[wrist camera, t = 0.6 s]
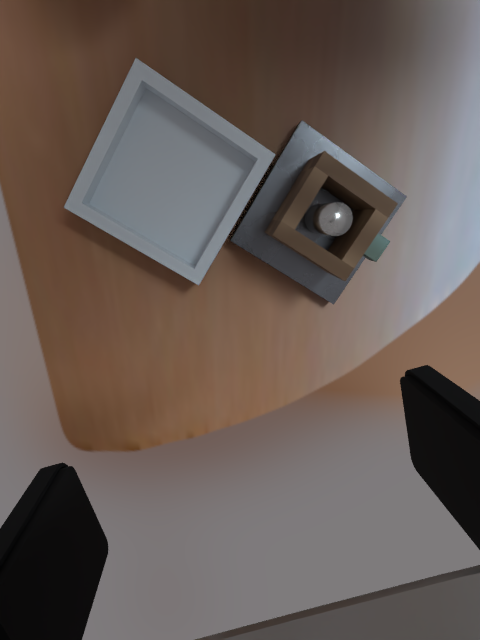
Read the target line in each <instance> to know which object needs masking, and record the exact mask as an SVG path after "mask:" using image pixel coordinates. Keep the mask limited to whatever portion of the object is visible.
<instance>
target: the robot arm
mask: <svg viewBox="0 0 480 640" xmlns="http://www.w3.org/2000/svg"><path fill="white" fill-rule="evenodd" d="M400 384H401V391H402V398H403V405H404V412H405V419H406V426H407V433H408V439H409V447H410V454H411V460H412V462H413V465H414V467H415V469H416V471H417V472H418V473H419V474H420V476H421V477H422V478H423V479H424V481H425V482H426V483H427V484H428V486H429V487H430V488H431V490H432V491H433V492H434V493H435V495H436V496H437V497H438V498H439V500H440V501H441V502H442V503H443V505H444V506H445V507H446V508H447V510H448V511H449V512H450V513H451V515H452V516H453V517H454V518H455V520H456V521H457V522H458V523H459V525H460V526H461V527H462V528H463V529H464V531H465V532H466V533H467V535H468V536H469V537H470V538H471V540H472V541H473V542H474V543H475V545H476V546H477V547H478V548H479V550H480V401H479V400H478V399H476V398H475V397H473V396H472V395H470V394H469V393H468V392H466V391H465V390H463V389H462V388H460V387H459V386H457V385H456V384H455V383H453V382H452V381H450V380H449V379H447V378H446V377H445V376H443V375H442V374H440V373H439V372H437V371H436V370H435V369H433V368H432V367H430V366H428V365H425V366H421V367H418V368H414V369H411V370H407V371H406V372H405V377H402V378H401V379H400ZM107 555H108V542H107V539H106V536H105V534H104V532H103V530H102V528H101V525H100V523H99V521H98V519H97V517H96V514H95V512H94V510H93V508H92V506H91V504H90V501H89V499H88V497H87V495H86V493H85V491H84V488H83V486H82V484H81V482H80V480H79V478H78V475H77V473H76V471H75V469H74V468H73V467H72V466H69V467H68V465H66V464H65V463H59V464H56V465H52V466H48V467H45V468H42V469H40V471H39V472H38V473H37V475H36V476H35V478H34V479H33V481H32V482H31V484H30V485H29V487H28V488H27V490H26V491H25V492H24V494H23V495H22V497H21V499H20V500H19V502H18V503H17V504H16V506H15V507H14V509H13V510H12V512H11V513H10V515H9V517H8V518H7V519H6V521H5V522H4V524H3V525H2V527H1V528H0V640H82V637H83V634H84V631H85V627H86V624H87V621H88V617H89V614H90V611H91V608H92V604H93V600H94V597H95V594H96V591H97V588H98V585H99V581H100V578H101V575H102V571H103V568H104V565H105V561H106V558H107ZM195 640H480V565H478V566H474V567H470V568H466V569H462V570H458V571H453V572H449V573H445V574H441V575H437V576H433V577H429V578H425V579H421V580H417V581H414V582H410V583H406V584H402V585H398V586H395V587H391V588H387V589H383V590H379V591H375V592H372V593H368V594H364V595H360V596H357V597H353V598H349V599H346V600H341V601H338V602H334V603H330V604H326V605H322V606H318V607H314V608H311V609H307V610H303V611H300V612H296V613H292V614H288V615H285V616H281V617H277V618H273V619H270V620H266V621H262V622H258V623H255V624H251V625H247V626H243V627H240V628H236V629H233V630H229V631H225V632H222V633H218V634H214V635H210V636H206V637H203V638H200V639H195Z"/></svg>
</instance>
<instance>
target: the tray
mask: <svg viewBox="0 0 480 640" xmlns="http://www.w3.org/2000/svg"><path fill="white" fill-rule="evenodd" d="M275 155H276V154H274V153H273V152H271V151H270V150H268V149H267V148H266V147H264V146H263V145H261V144H260V143H258V142H257V141H255V140H254V139H253V138H251V137H250V136H248V135H247V134H245V133H244V132H242V131H241V130H240V129H238V128H237V127H235V126H234V125H232V124H231V123H229V122H228V121H227V120H225V119H224V118H222V117H221V116H219V115H218V114H216V113H215V112H214V111H212V110H211V109H209V108H208V107H206V106H205V105H203V104H202V103H201V102H199V101H198V100H196V99H195V98H193V97H192V96H190V95H189V94H188V93H186V92H185V91H183V90H182V89H180V88H179V87H177V86H176V85H175V84H173V83H172V82H170V81H169V80H167V79H166V78H164V77H163V76H162V75H160V74H159V73H157V72H156V71H154V70H153V69H151V68H150V67H149V66H147V65H146V64H144V63H143V62H141V61H140V60H138V59H137V58H135V60H134V63H133V65H132V67H131V69H130V71H129V73H128V75H127V77H126V79H125V81H124V83H123V85H122V87H121V90H120V92H119V94H118V96H117V98H116V100H115V102H114V104H113V106H112V108H111V110H110V112H109V114H108V117H107V119H106V121H105V123H104V125H103V127H102V129H101V131H100V133H99V135H98V137H97V139H96V141H95V144H94V146H93V148H92V150H91V152H90V154H89V156H88V158H87V160H86V162H85V164H84V166H83V168H82V171H81V173H80V175H79V177H78V179H77V181H76V183H75V185H74V187H73V189H72V191H71V193H70V195H69V198H68V200H67V202H66V204H65V206H64V208H65V209H67V210H69V211H71V212H72V213H74V214H76V215H78V216H79V217H81V218H83V219H84V220H86V221H88V222H90V223H91V224H93V225H95V226H97V227H98V228H100V229H102V230H104V231H105V232H107V233H109V234H110V235H112V236H114V237H116V238H117V239H119V240H121V241H123V242H124V243H126V244H128V245H130V246H131V247H133V248H135V249H136V250H138V251H140V252H142V253H143V254H145V255H147V256H149V257H150V258H152V259H154V260H156V261H157V262H159V263H161V264H162V265H164V266H166V267H168V268H169V269H171V270H173V271H175V272H176V273H178V274H180V275H182V276H183V277H185V278H187V279H188V280H190V281H192V282H194V283H195V284H197V285H199V284H200V283H201V281H202V279H203V277H204V276H205V274H206V272H207V271H208V269H209V267H210V266H211V264H212V262H213V260H214V259H215V257H216V255H217V254H218V252H219V250H220V248H221V247H222V245H223V243H224V242H225V240H226V238H227V237H228V235H229V233H230V231H231V230H232V228H233V226H234V225H235V223H236V221H237V220H238V218H239V216H240V214H241V213H242V211H243V209H244V208H245V206H246V204H247V203H248V201H249V199H250V197H251V196H252V194H253V192H254V191H255V189H256V187H257V186H258V184H259V182H260V180H261V179H262V177H263V175H264V174H265V172H266V170H267V169H268V167H269V165H270V163H271V162H272V160H273V158H274V157H275Z"/></svg>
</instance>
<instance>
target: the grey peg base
mask: <svg viewBox="0 0 480 640" xmlns="http://www.w3.org/2000/svg"><path fill="white" fill-rule="evenodd" d="M323 151H325V152H327V153H328V154H330V155H331V156H332V157H334V158H335V159H337V160H338V161H339V162H341V163H342V164H344V165H345V166H346V167H348V168H349V169H350V170H352V171H353V172H355V173H356V174H357V175H359V176H360V177H362V178H363V179H364V180H366V181H367V182H369V183H370V184H371V185H373V186H374V187H376V188H377V189H378V190H380V191H381V192H383V193H384V194H385V195H387V196H388V197H389V198H391V199H392V200H394V201H395V202H396V203H398V204H397V206H396V207H395V209H394V210H393V212H392V213H391V215H390V216H389V218H388V219H387V221H386V222H385V224H384V225H383V227H382V228H381V230H380V231H379V232H378V233H379V234H380V235H381V234H382V232H383V231H384V229H385V228H386V227H387V225H388V224H389V222H390V221H391V219H392V218H393V216H394V215H395V213H396V212H397V210H398V209H399V207H400V206H401V204H402V203H403V201H404V200H405V199H406V197H407V196H405V195H404V194H402V193H401V192H400V191H398V190H397V189H396V188H394V187H393V186H391V185H390V184H389V183H387V182H386V181H385V180H383V179H382V178H380V177H379V176H378V175H376V174H375V173H374V172H372V171H371V170H369V169H368V168H367V167H365V166H364V165H363V164H361V163H360V162H358V161H357V160H356V159H354V158H353V157H352V156H350V155H349V154H347V153H346V152H345V151H343V150H342V149H341V148H339V147H338V146H336V145H335V144H334V143H332V142H331V141H330V140H328V139H327V138H325V137H324V136H323V135H321V134H320V133H319V132H317V131H316V130H314V129H313V128H312V127H310V126H309V125H308V124H306V123H305V122H303V121H301V122H300V123H299V124H298V126H297V127H296V129H295V131H294V132H293V134H292V136H291V137H290V139H289V141H288V142H287V144H286V146H285V148H284V149H283V151H282V153H281V154H280V156H279V158H278V159H277V161H276V163H275V165H274V166H273V168H272V170H271V171H270V173H269V175H268V176H267V178H266V180H265V181H264V183H263V185H262V187H261V188H260V190H259V192H258V193H257V195H256V197H255V198H254V200H253V202H252V203H251V205H250V207H249V209H248V210H247V212H246V214H245V215H244V217H243V219H242V220H241V222H240V224H239V226H238V227H237V229H236V231H235V232H234V234H233V236H232V237H231V239H230V241H232V242H233V243H235V244H237V245H238V246H240V247H241V248H243V249H245V250H246V251H248V252H250V253H251V254H253V255H254V256H256V257H258V258H259V259H261V260H262V261H264V262H266V263H267V264H269V265H271V266H272V267H274V268H275V269H277V270H279V271H280V272H282V273H284V274H285V275H287V276H288V277H290V278H292V279H293V280H295V281H296V282H298V283H300V284H301V285H303V286H305V287H306V288H308V289H309V290H311V291H313V292H314V293H316V294H318V295H319V296H321V297H322V298H324V299H326V300H327V301H329V302H331V303H332V304H334V303H335V302H336V300H337V299H338V297H339V296H340V294H341V293H342V291H343V290H344V288H345V287H346V286H347V284H348V283H349V281H350V280H351V278H352V277H353V275H354V274H355V272H356V271H357V269H358V268H359V266H360V265H361V263H362V262H363V260H364V259H365V257H364V256H362V258H361V259H360V261H359V262H358V264H357V265H356V266H355V268H354V269H353V271H352V272H351V274H350V275H349V277H348V278H347V280H346V281H343V280H341V279H339V278H337V277H335V276H333V275H331V274H329V273H327V272H326V271H324V270H323V269H321V268H320V267H318V266H316V265H315V264H313V263H312V262H310V261H309V260H307V259H305V258H304V257H302V256H301V255H299V254H298V253H296V252H294V251H293V250H291V249H290V248H288V247H287V246H285V245H283V244H282V243H280V242H279V241H277V240H276V239H274V238H272V237H271V236H269V235H268V234H266V233H265V231H266V229H267V227H268V226H269V224H270V222H271V221H272V219H273V217H274V216H275V214H276V212H277V211H278V209H279V208H280V206H281V204H282V203H283V201H284V199H285V198H286V196H287V194H288V193H289V191H290V189H291V188H292V186H293V185H294V183H295V181H296V180H297V178H298V176H299V175H300V173H301V171H302V170H303V168H304V166H305V165H306V163H307V161H308V160H309V159H311V158H312V157H314V156H316V155H318V154H319V153H321V152H323ZM353 211H354V209H352V208H351V207H349V206H348V205H346V204H345V203H343V202H342V201H341V200H339V199H338V198H336V197H335V196H333V195H332V194H330V193H329V192H328V191H326V190H325V189H323V188H322V187H321V188H320V190H319V192H318V193H317V195H316V196H315V198H314V200H313V201H312V203H311V204H310V206H309V208H308V209H307V211H306V212H305V214H304V216H303V217H302V219H301V220H300V222H299V224H298V225H297V227H296V228H295V230H296V231H298V232H299V233H301V234H302V235H304V236H305V237H307V238H308V239H310V240H312V241H313V242H315V243H316V244H318V245H319V246H321V247H322V248H324V249H325V250H327V251H328V249H329V248H330V246H331V244H332V243H333V241H334V240H335V238H336V237H337V236H340V235H342V234H344V233H346V232H347V231H348V230H349V228H350V227H351V224H352V220H353V216H352V212H353Z"/></svg>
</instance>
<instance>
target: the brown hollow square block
mask: <svg viewBox="0 0 480 640" xmlns="http://www.w3.org/2000/svg"><path fill="white" fill-rule="evenodd" d="M321 187H322V188H323V189H325V190H326V191H328V192H329V193H330V194H332V195H333V196H335V197H336V198H338V199H339V200H341V201H342V202H343V203H345V204H346V205H348V206H349V207H351V208H352V209H354V211H353V212H352V216H353V220H352V224H351V227H350V228H349V230H348V231H347V232H346V233H344V234H342V235H340V236H337V237H336V238H335V240H334V241H333V243H332V244H331V246H330V248H329V249H328V251H327V250H325V249H324V248H322V247H321V246H319V245H318V244H316V243H315V242H313V241H312V240H310V239H308V238H307V237H305V236H304V235H302V234H301V233H299V232H298V231H296V230H295V228H296V227H297V225H298V224H299V222H300V220H301V219H302V217H303V216H304V214H305V212H306V211H307V209H308V208H309V206H310V204H311V203H312V201H313V200H314V198H315V196H316V195H317V193H318V192H319V190H320V188H321ZM397 204H398V203H396V202H395V201H394V200H392V199H391V198H389V197H388V196H387V195H385V194H384V193H383V192H381V191H380V190H378V189H377V188H376V187H374V186H373V185H371V184H370V183H369V182H367V181H366V180H364V179H363V178H362V177H360V176H359V175H357V174H356V173H355V172H353V171H352V170H350V169H349V168H348V167H346V166H345V165H344V164H342V163H341V162H339V161H338V160H337V159H335V158H334V157H332V156H331V155H330V154H328V153H327V152H325V151H323V152H321V153H319V154H318V155H316V156H314V157H312V158H311V159H309V160H308V161H307V163H306V165H305V166H304V168H303V170H302V171H301V173H300V175H299V176H298V178H297V180H296V181H295V183H294V185H293V186H292V188H291V189H290V191H289V193H288V194H287V196H286V198H285V199H284V201H283V203H282V204H281V206H280V208H279V209H278V211H277V212H276V214H275V216H274V217H273V219H272V221H271V222H270V224H269V226H268V227H267V229H266V231H265V233H266V234H268V235H269V236H271V237H272V238H274V239H276V240H277V241H279V242H280V243H282V244H283V245H285V246H287V247H288V248H290V249H291V250H293V251H294V252H296V253H298V254H299V255H301V256H302V257H304V258H305V259H307V260H309V261H310V262H312V263H313V264H315V265H316V266H318V267H320V268H321V269H323V270H324V271H326V272H327V273H329V274H331V275H333V276H335V277H337V278H339V279H341V280H343V281H346V280H347V278H348V277H349V275H350V274H351V272H352V271H353V269H354V268H355V266H356V265H357V264H358V262H359V261H360V259H361V258H362V256H364V257H366V258H367V259H369V260H372V261H375V262H377V260H378V259H379V257H380V256H381V254H382V253H383V251H384V250H385V248H386V247H387V246H388V244H389V243H390V241H389V240H387V239H386V238H384V237H383V236H382V235H380V234H379V233H378V232H379V231H380V230H381V228H382V227H383V225H384V224H385V222H386V221H387V219H388V218H389V216H390V215H391V213H392V212H393V210H394V209H395V207H396V206H397Z"/></svg>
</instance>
